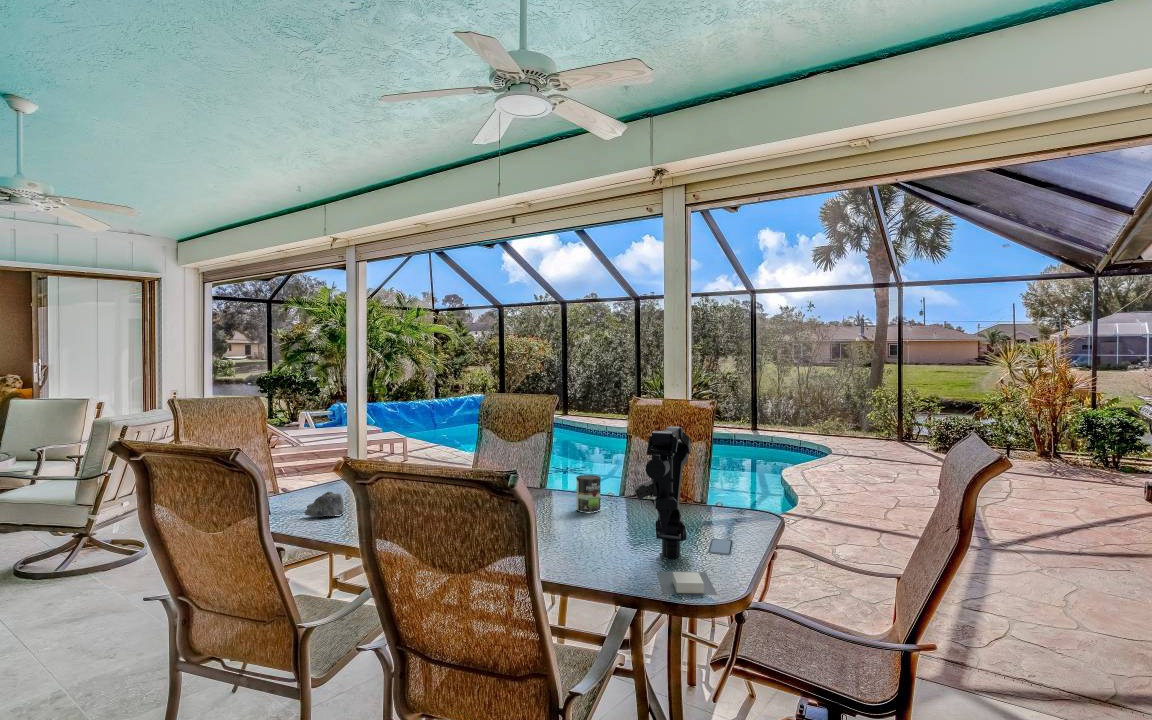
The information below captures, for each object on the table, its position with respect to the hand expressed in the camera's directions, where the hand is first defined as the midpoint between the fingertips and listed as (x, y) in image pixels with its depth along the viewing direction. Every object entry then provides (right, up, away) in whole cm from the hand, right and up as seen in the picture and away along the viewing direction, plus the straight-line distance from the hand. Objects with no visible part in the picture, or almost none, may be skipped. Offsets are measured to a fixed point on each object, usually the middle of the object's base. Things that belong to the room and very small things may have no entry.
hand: (662, 527), depth 169 cm
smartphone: (+23, -14, +23) cm, 35 cm away
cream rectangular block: (+4, -10, -12) cm, 16 cm away
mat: (+4, -13, -12) cm, 18 cm away
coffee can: (-20, -14, +73) cm, 77 cm away
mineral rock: (-126, -14, +62) cm, 141 cm away
